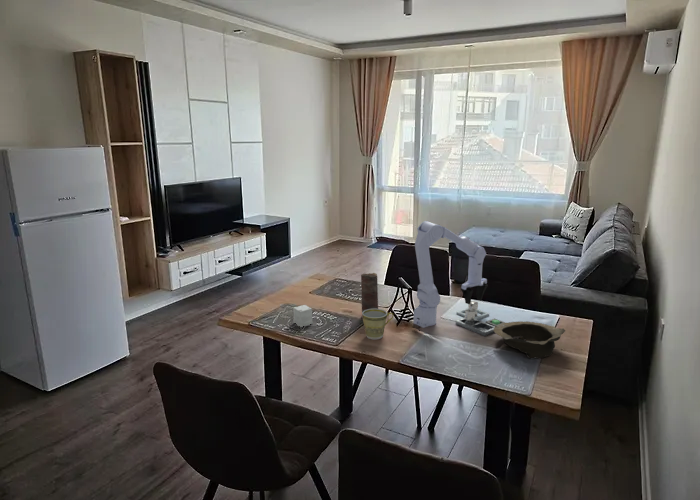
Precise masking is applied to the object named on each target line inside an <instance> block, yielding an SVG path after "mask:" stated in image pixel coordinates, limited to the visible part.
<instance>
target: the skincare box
mask: <svg viewBox="0 0 700 500" xmlns="http://www.w3.org/2000/svg"><path fill="white" fill-rule="evenodd" d="M292 310H293V324H294V323H296V324H297V325H296V324H295V325H296V326H298V327H299V326H300V328H304V327H308V326H310V324H311V325H313V324H314V323H313V308H311V307H309V306H308V305H307V304H303V305H299V306H295V307H292ZM303 326H304V327H303Z"/></svg>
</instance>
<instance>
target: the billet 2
mask: <svg viewBox="0 0 700 500" xmlns="http://www.w3.org/2000/svg"><path fill="white" fill-rule="evenodd" d="M464 314H465V317H464V318H465V323H466V324H468V325H473V324H474V322H475V317H476V316H475V311H474V310H465V312H464Z"/></svg>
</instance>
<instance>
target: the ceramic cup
mask: <svg viewBox="0 0 700 500" xmlns="http://www.w3.org/2000/svg"><path fill="white" fill-rule="evenodd" d="M389 315H390V316H391V315H392V317H391V318H390V319H388V316H389ZM361 316H362V321H363V326H364V331H365V336H366V337H367V339H370V340H373V341H375V340H381V339H382V338H383V336H384V332H385V327H386V325H387V324H389V322H391V321H392V320H393V319H394V313H393V312H387V311H386V310H385V309H380V308H378V309H367V310H364V311H363V312H362V311H361ZM387 319H388V320H387Z"/></svg>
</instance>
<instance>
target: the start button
mask: <svg viewBox="0 0 700 500" xmlns="http://www.w3.org/2000/svg"><path fill="white" fill-rule="evenodd" d="M491 320H492V319H491ZM499 320H500V319H497V320H492V323H493V324H496V325H498V324H500V321H501V320H500V321H499Z"/></svg>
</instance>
